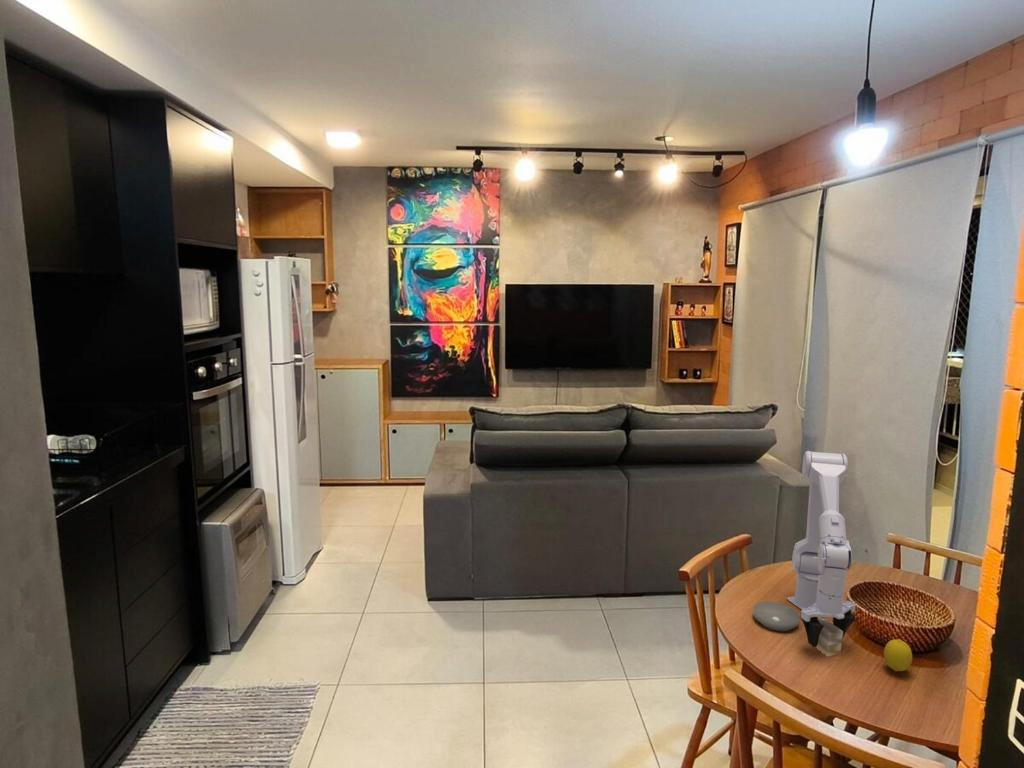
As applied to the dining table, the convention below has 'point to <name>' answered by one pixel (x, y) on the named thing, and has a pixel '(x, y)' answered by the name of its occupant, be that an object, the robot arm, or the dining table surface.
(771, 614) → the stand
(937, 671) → the dining table surface
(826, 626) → the block
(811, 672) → the dining table surface
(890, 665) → the lemon
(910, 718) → the dining table surface
